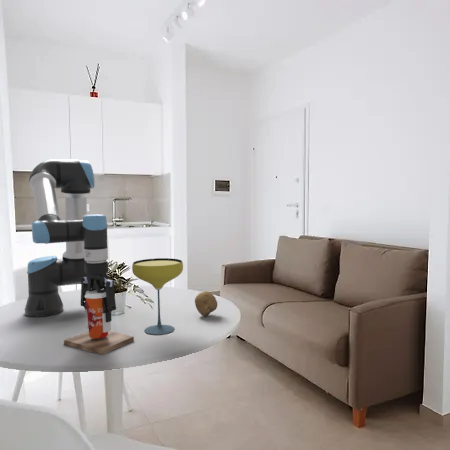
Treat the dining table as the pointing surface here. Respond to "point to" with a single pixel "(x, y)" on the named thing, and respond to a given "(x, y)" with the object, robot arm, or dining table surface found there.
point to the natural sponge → (205, 303)
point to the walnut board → (99, 342)
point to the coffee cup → (95, 314)
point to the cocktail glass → (158, 282)
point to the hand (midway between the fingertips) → (98, 329)
